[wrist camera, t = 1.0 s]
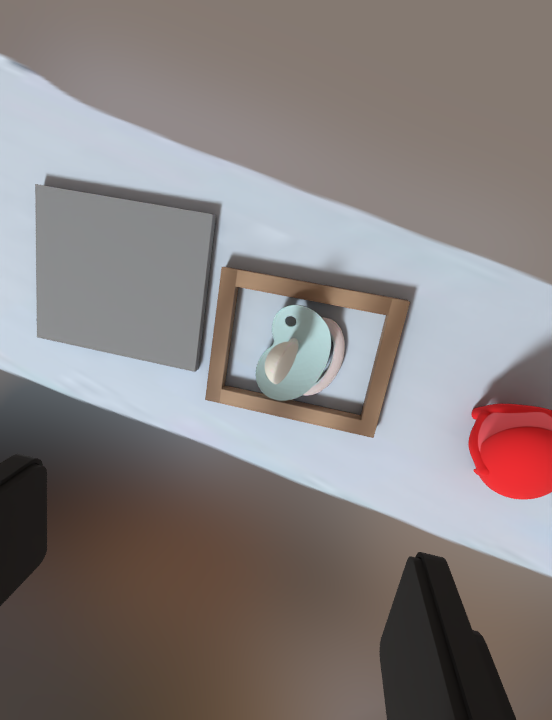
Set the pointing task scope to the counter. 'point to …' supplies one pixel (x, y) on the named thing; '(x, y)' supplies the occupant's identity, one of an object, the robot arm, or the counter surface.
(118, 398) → the counter surface
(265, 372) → the pacifier
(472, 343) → the counter surface
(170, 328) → the slate mat
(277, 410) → the pocket frame
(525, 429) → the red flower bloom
